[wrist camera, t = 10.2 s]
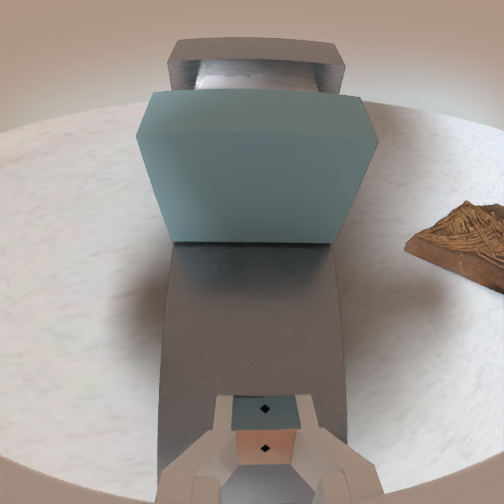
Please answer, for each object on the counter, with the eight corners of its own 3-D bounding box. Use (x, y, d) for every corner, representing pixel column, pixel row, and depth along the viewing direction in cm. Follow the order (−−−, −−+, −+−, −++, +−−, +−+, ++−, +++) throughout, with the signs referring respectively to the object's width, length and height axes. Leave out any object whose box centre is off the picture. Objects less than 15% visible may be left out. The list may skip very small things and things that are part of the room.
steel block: (302, 202, 19) (323, 110, 13) (203, 201, 19) (189, 107, 13) (298, 167, 21) (314, 78, 14) (207, 165, 21) (197, 75, 14)
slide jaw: (333, 243, 18) (378, 141, 11) (172, 241, 17) (135, 136, 11) (327, 200, 19) (360, 97, 12) (178, 198, 19) (153, 92, 12)
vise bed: (335, 492, 13) (427, 556, 4) (167, 493, 13) (86, 563, 4) (308, 149, 24) (330, 37, 16) (195, 147, 24) (180, 34, 15)
